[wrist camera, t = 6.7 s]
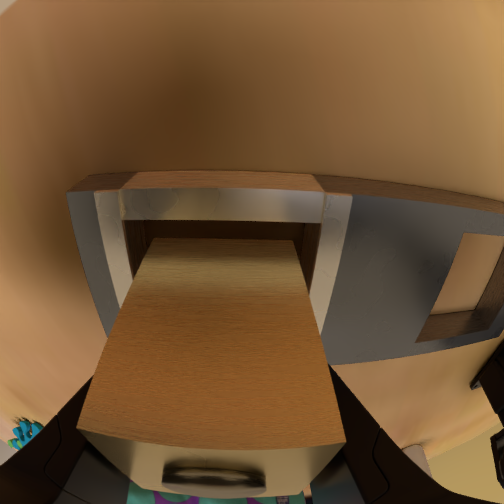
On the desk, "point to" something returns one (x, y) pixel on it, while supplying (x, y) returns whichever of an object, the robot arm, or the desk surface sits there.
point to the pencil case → (202, 498)
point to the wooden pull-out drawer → (215, 374)
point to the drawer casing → (310, 249)
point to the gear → (25, 438)
